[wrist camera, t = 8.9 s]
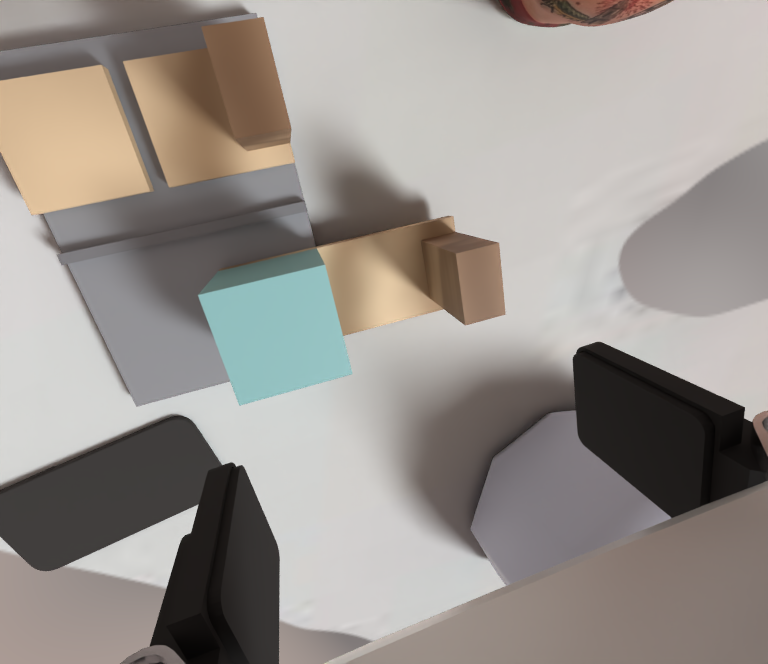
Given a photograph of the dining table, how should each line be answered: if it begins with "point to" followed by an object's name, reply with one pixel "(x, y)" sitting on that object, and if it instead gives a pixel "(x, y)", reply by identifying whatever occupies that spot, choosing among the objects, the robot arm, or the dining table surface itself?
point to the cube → (276, 325)
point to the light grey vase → (554, 501)
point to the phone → (106, 494)
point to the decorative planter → (578, 11)
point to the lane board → (136, 204)
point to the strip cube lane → (412, 275)
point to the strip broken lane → (215, 105)
